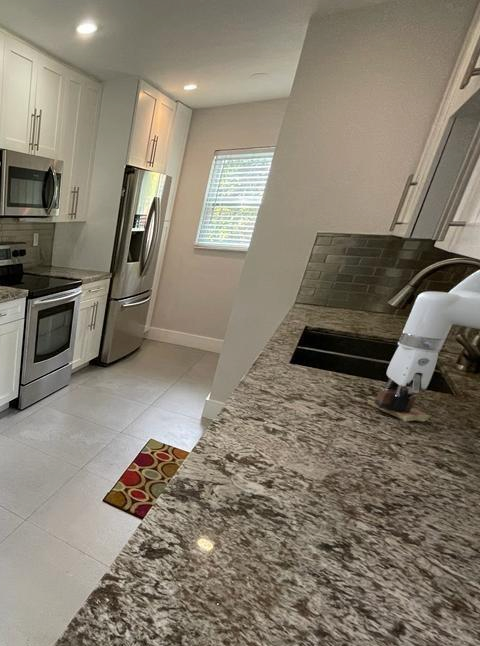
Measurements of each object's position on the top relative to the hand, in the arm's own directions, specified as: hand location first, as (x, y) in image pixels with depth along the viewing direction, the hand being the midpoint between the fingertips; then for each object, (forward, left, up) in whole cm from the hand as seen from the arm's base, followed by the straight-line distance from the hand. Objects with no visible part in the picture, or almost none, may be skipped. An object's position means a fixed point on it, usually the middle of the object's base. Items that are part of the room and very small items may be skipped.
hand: (391, 406), depth 109 cm
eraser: (0, 0, 0) cm, 0 cm away
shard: (-1, 0, -2) cm, 3 cm away
